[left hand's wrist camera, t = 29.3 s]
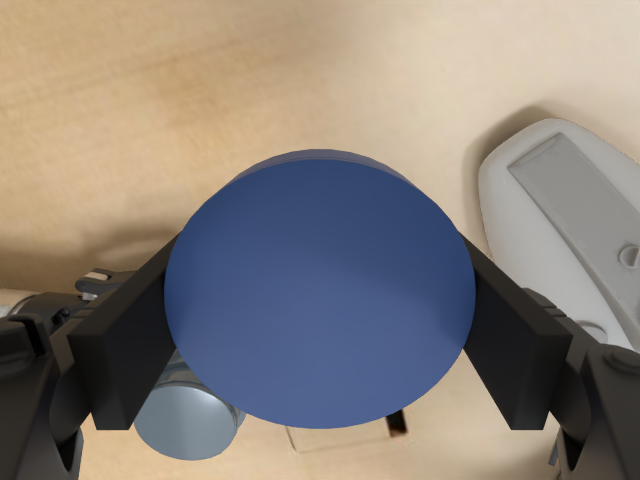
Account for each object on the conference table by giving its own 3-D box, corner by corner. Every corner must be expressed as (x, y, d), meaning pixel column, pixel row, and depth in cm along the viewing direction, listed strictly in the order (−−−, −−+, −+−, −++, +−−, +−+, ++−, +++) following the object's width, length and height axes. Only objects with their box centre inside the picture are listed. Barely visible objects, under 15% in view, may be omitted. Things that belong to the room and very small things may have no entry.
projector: (716, 133, 32) (1004, 152, 19) (620, 334, 41) (771, 449, 27) (486, 112, 32) (611, 116, 18) (435, 321, 40) (495, 431, 26)
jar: (181, 299, 39) (102, 408, 25) (243, 266, 38) (195, 362, 23) (224, 352, 42) (174, 478, 28) (283, 323, 40) (263, 441, 26)
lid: (406, 397, 14) (420, 446, 12) (182, 361, 13) (157, 407, 11) (489, 181, 11) (529, 199, 9) (200, 120, 10) (170, 123, 8)
